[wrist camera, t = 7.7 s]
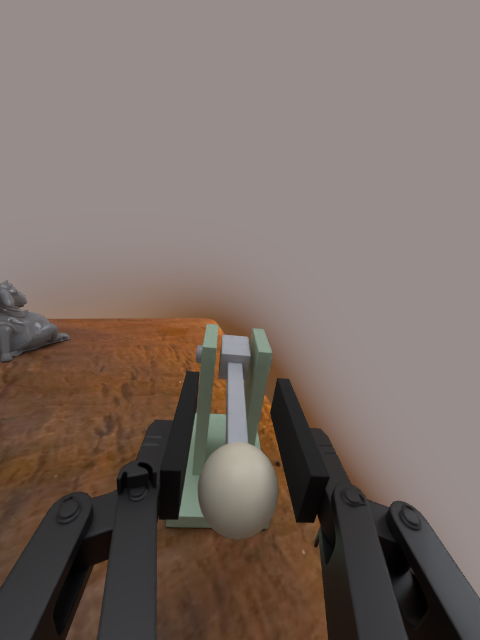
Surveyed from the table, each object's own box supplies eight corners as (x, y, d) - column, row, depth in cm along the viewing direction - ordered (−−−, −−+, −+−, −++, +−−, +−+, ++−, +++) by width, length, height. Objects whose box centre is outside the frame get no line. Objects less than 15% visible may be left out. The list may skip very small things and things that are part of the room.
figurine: (74, 340, 43) (68, 280, 40) (2, 363, 35) (-14, 289, 31) (46, 327, 46) (38, 270, 43) (-27, 345, 38) (-45, 276, 34)
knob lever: (276, 557, 10) (295, 511, 9) (190, 556, 10) (195, 508, 9) (251, 365, 22) (257, 331, 21) (211, 362, 22) (214, 327, 20)
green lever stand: (268, 529, 19) (306, 381, 15) (165, 527, 19) (170, 370, 14) (253, 424, 30) (273, 318, 25) (186, 420, 29) (194, 309, 24)
